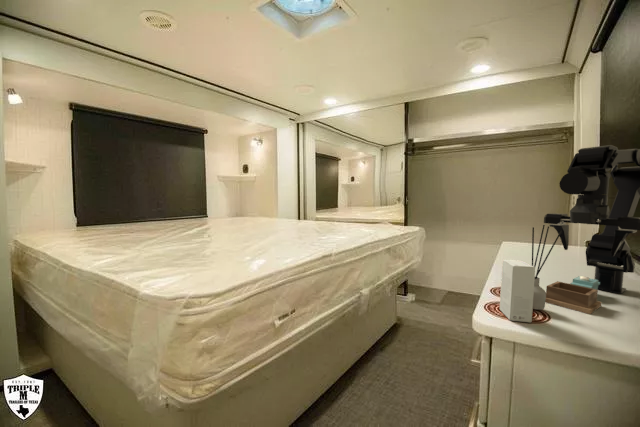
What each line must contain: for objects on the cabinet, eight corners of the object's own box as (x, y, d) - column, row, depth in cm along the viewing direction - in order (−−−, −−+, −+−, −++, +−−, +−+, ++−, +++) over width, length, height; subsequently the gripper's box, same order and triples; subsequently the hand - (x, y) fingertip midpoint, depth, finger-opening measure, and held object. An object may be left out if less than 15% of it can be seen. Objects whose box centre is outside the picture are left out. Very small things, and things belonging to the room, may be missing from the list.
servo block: (579, 290, 79) (581, 272, 79) (599, 295, 76) (600, 276, 76) (569, 296, 75) (570, 277, 74) (589, 301, 71) (591, 281, 71)
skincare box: (532, 323, 58) (536, 267, 57) (509, 321, 59) (512, 265, 58) (519, 311, 64) (522, 260, 63) (498, 309, 65) (501, 258, 64)
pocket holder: (554, 294, 76) (555, 280, 75) (601, 306, 68) (602, 290, 68) (541, 301, 71) (542, 285, 70) (590, 314, 63) (591, 297, 63)
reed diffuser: (528, 301, 70) (535, 222, 69) (562, 311, 64) (571, 226, 63) (508, 309, 65) (515, 224, 63) (543, 321, 59) (552, 228, 57)
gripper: (537, 194, 77) (534, 250, 78) (639, 194, 61) (633, 264, 62) (552, 194, 83) (549, 246, 84) (648, 195, 67) (643, 258, 68)
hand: (588, 252), depth 74 cm, fingers open, 9 cm apart
